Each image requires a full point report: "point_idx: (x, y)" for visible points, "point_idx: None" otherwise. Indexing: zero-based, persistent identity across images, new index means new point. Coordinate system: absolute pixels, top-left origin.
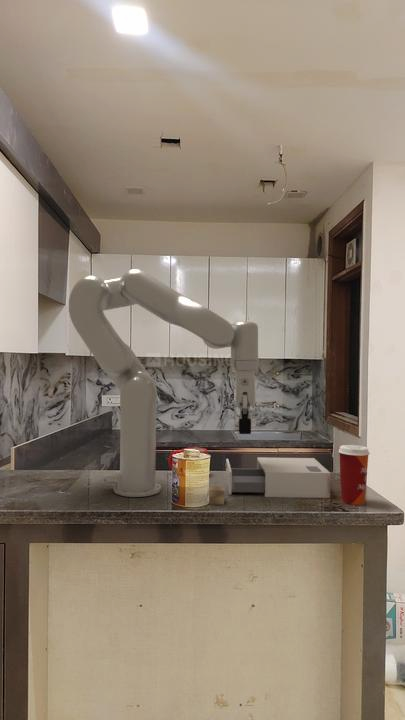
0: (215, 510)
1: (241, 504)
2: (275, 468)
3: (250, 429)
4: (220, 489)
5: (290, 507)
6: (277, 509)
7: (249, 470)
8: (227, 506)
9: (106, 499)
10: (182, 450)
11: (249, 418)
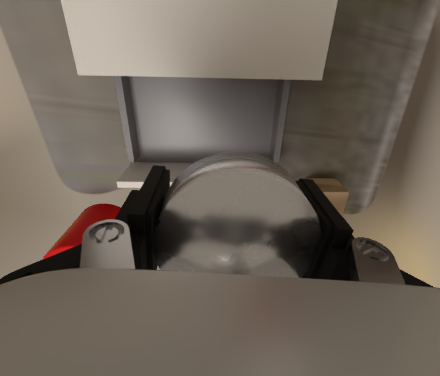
0: (364, 194)
1: (340, 143)
2: (269, 26)
3: (320, 191)
4: (339, 198)
5: (393, 16)
6: (397, 60)
7: (126, 104)
8: (346, 172)
9: None
10: None
11: (380, 248)
